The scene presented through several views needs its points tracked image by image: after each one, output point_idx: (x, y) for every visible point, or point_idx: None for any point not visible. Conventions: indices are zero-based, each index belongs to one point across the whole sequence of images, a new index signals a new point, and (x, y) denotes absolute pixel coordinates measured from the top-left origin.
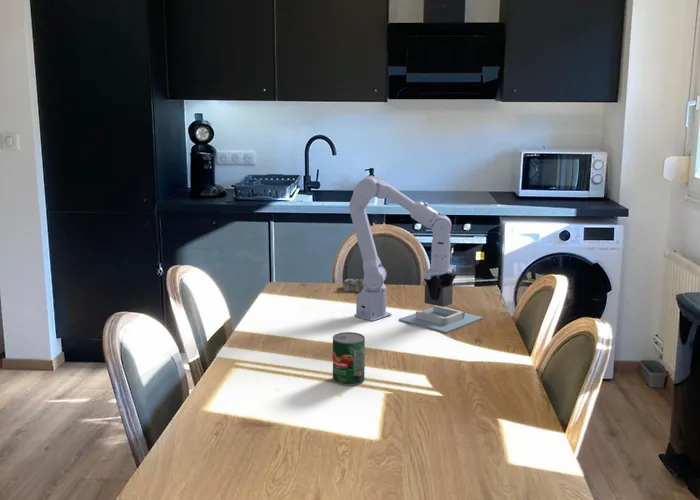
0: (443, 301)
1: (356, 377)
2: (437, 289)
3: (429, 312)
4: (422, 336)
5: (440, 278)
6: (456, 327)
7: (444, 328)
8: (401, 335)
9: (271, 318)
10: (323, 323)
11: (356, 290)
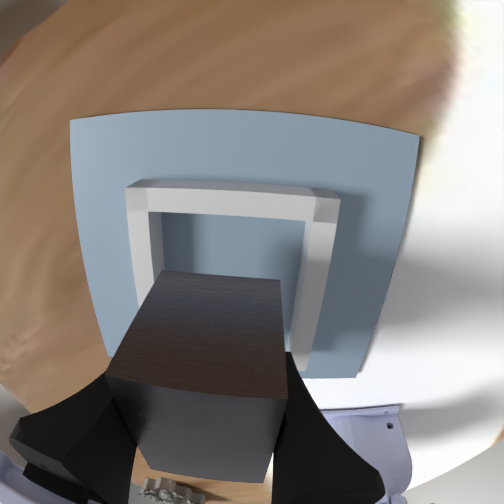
0: (275, 303)
1: None
2: (310, 413)
3: None
4: (485, 209)
5: (126, 474)
6: (325, 121)
7: (379, 168)
8: (494, 275)
9: (432, 470)
10: (442, 435)
11: (190, 491)
